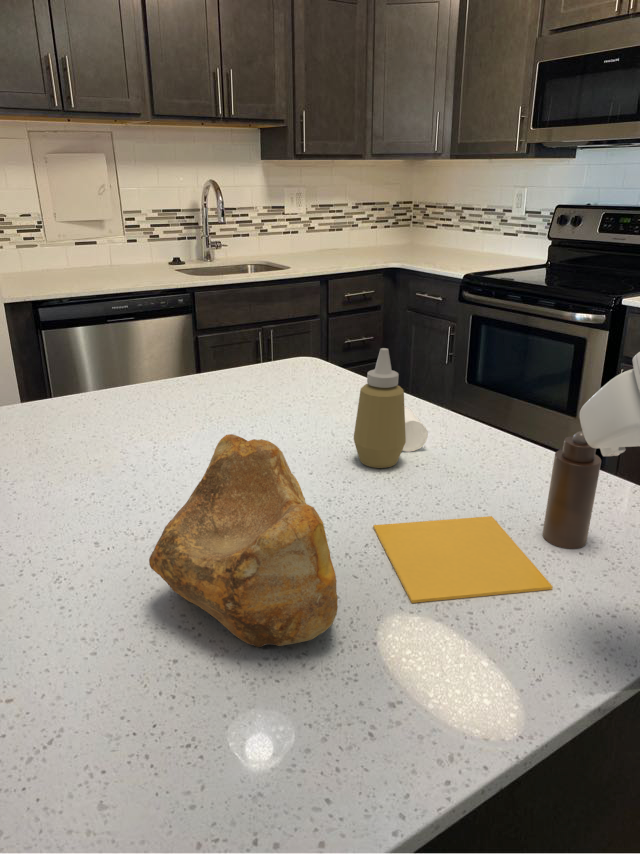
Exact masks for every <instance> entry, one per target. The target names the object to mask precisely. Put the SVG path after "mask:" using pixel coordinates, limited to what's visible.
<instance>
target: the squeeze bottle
mask: <svg viewBox="0 0 640 854" xmlns="http://www.w3.org/2000/svg"><path fill="white" fill-rule="evenodd" d="M390 357H391V356H390V351H389V348H386V347H382V348H379V353H378V356H377V360H376V363H375V366H374V367H375V368H374V369H371V370H368V371H367V375H366V384H364V385H363V386H362V387H360V390H359V398H358V405H357V412H356V417H355V425H354V431H353V443H354V446H355V449H356V452H357V456H358V458H359V462H360V463H361V464H363V465H364V466H366V467H369V468H375V469H385V468H391V467H393V466H395V465H397V463H398V461H399V459H400V457H401V455H402V452H403V451H402V450H403V447H404V445H405V443H406V435H405V409H404V406H405V390H404V388H403V387H401V386H400V385H399V379H400V378H399V375H400V374H399V372H397V371H395V370H392V364H391V358H390Z"/></svg>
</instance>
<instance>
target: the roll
mask: <svg viewBox="0 0 640 854" xmlns="http://www.w3.org/2000/svg"><path fill="white" fill-rule="evenodd" d="M404 409H405V435H406V443H405V445H404V447H403V450H402V452H407V453H410V452H414V451H417V450H419V449H421V448H422V447H423V446H425V444H426V443H427V441H428V437H429V433H428V429H427V427H426V426H425V424H424V423H423V422H422V421H421V419H419V418H418V416H417V415H416V413H415V412H414V411H413V410H412V409H410V407H408V406H405V405H404Z"/></svg>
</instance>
